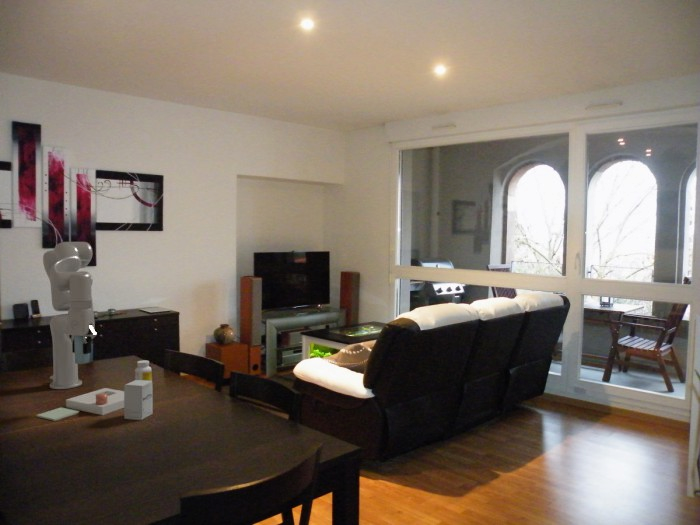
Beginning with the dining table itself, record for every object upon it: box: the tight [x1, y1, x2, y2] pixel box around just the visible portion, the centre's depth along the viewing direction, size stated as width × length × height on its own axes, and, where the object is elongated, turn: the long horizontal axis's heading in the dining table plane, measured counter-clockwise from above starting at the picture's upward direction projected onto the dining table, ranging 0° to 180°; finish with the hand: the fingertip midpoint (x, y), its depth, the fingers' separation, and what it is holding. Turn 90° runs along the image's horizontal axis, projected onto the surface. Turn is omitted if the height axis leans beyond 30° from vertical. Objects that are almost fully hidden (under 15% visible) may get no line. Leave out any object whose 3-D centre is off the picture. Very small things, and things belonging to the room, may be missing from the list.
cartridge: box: [74, 333, 90, 365], centre depth 209 cm, size 6×6×12 cm
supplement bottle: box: [134, 359, 153, 381], centre depth 231 cm, size 7×7×13 cm
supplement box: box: [123, 379, 154, 421], centre depth 200 cm, size 7×7×13 cm
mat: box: [36, 406, 80, 422], centre depth 202 cm, size 10×10×1 cm
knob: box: [96, 393, 108, 404], centre depth 206 cm, size 4×4×6 cm
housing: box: [65, 387, 124, 416], centre depth 214 cm, size 20×18×3 cm
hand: (81, 352), depth 209 cm, fingers closed on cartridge, 5 cm apart
